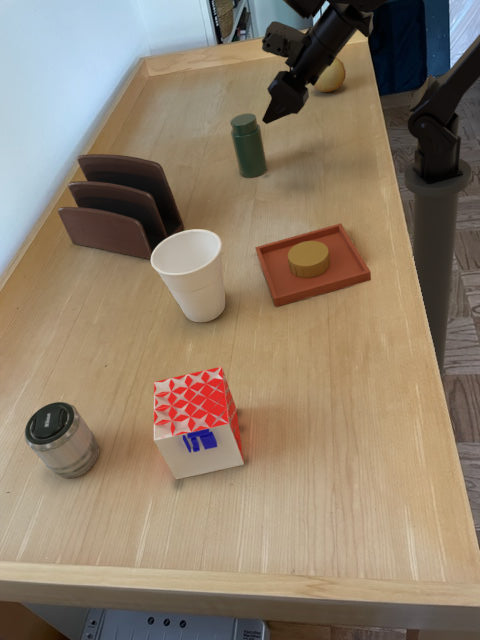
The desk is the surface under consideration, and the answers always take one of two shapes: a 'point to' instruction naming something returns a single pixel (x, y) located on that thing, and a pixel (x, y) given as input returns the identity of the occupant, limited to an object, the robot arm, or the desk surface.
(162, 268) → the cup
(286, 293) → the tray
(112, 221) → the letter holder
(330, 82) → the fruit
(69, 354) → the desk surface
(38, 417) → the camera lens
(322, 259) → the lid
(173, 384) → the red white patterned cube
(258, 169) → the jar
